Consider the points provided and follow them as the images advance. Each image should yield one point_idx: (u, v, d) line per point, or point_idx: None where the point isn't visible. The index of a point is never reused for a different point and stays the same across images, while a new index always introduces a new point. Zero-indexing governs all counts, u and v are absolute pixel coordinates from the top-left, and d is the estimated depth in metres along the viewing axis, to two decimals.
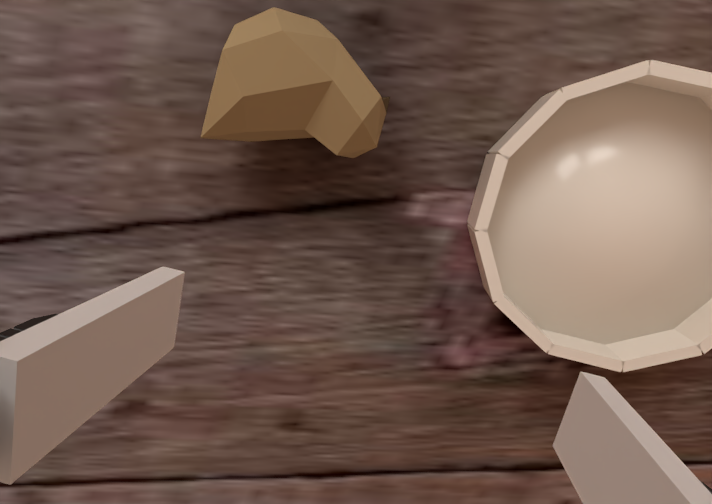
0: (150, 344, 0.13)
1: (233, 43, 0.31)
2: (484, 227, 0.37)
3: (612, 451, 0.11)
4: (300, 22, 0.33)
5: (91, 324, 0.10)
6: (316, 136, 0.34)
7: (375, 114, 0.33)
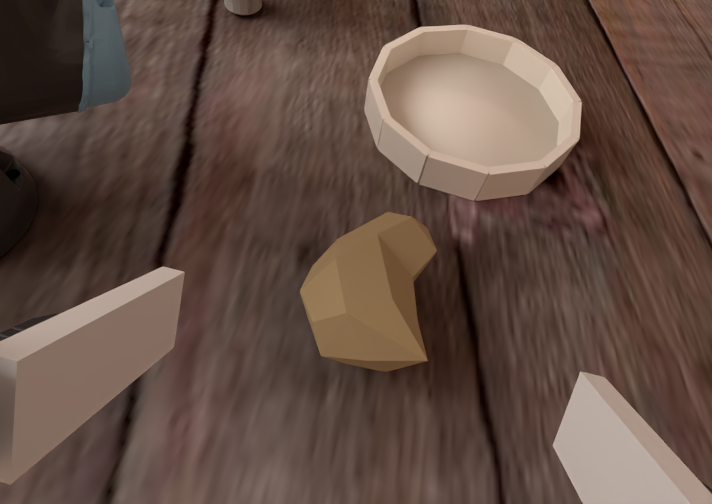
0: (150, 344, 0.13)
1: (340, 303, 0.31)
2: (485, 168, 0.45)
3: (612, 451, 0.11)
4: (319, 265, 0.35)
5: (91, 324, 0.10)
6: (419, 266, 0.36)
7: None
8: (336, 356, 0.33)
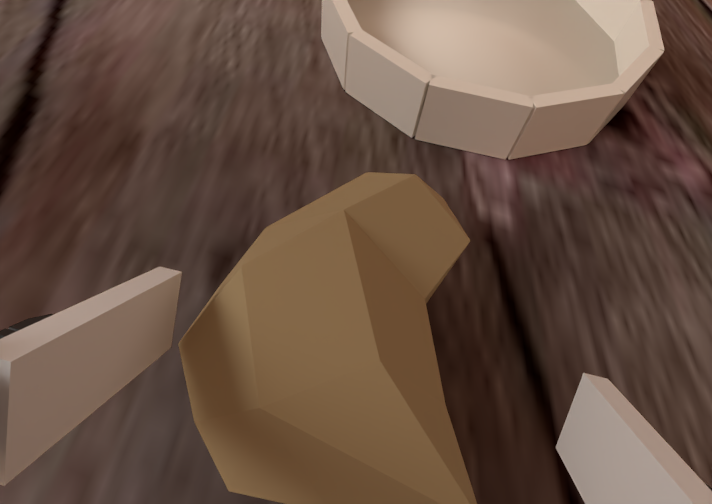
0: (147, 344, 0.13)
1: (248, 381, 0.12)
2: (527, 98, 0.27)
3: (616, 453, 0.11)
4: (222, 285, 0.16)
5: (86, 324, 0.10)
6: (437, 275, 0.17)
7: None
8: (259, 496, 0.14)
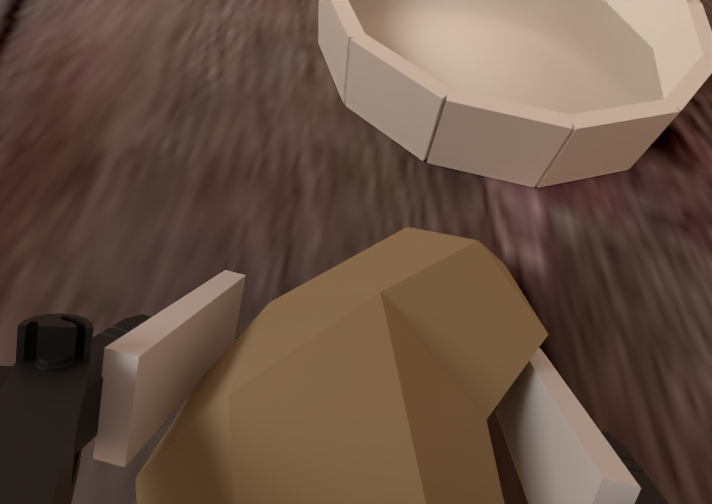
0: (219, 342, 0.14)
1: None
2: (564, 117, 0.22)
3: (534, 409, 0.13)
4: (204, 390, 0.12)
5: (184, 323, 0.11)
6: (504, 384, 0.13)
7: None
8: None
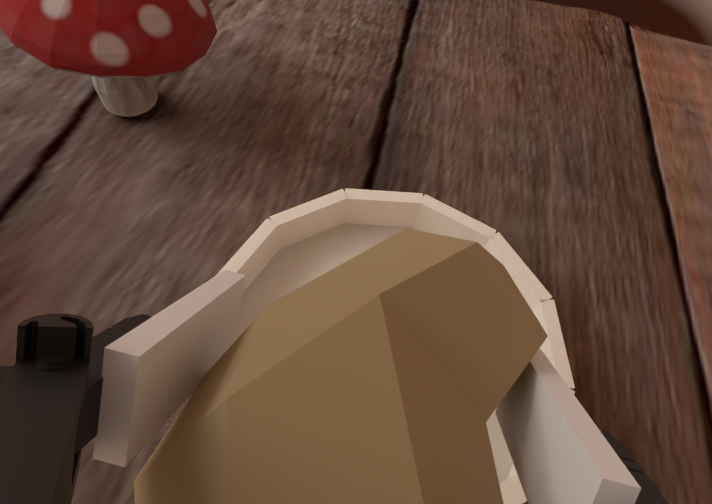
0: (219, 342, 0.14)
1: None
2: None
3: (535, 409, 0.13)
4: (203, 392, 0.12)
5: (184, 324, 0.11)
6: (503, 386, 0.12)
7: None
8: None
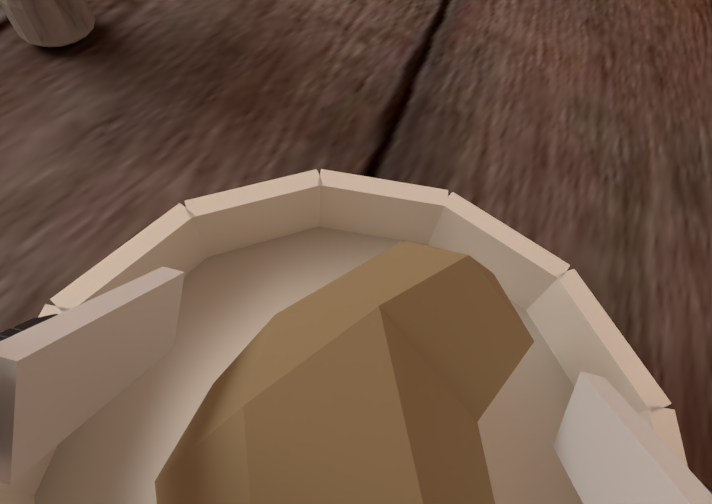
0: (150, 344, 0.13)
1: None
2: None
3: (612, 451, 0.11)
4: (217, 398, 0.13)
5: (91, 324, 0.10)
6: (493, 388, 0.14)
7: None
8: None
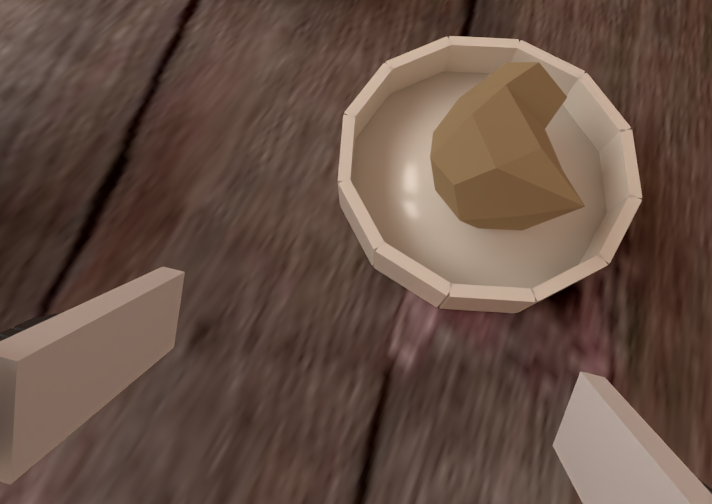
0: (150, 344, 0.13)
1: (487, 160, 0.30)
2: (447, 285, 0.33)
3: (612, 451, 0.11)
4: (446, 128, 0.34)
5: (91, 324, 0.10)
6: (550, 116, 0.34)
7: None
8: (478, 218, 0.33)
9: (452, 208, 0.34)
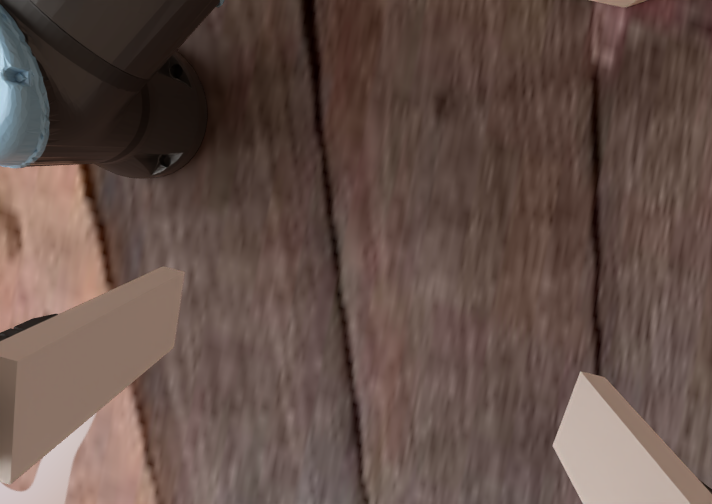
0: (150, 344, 0.13)
1: None
2: None
3: (612, 451, 0.11)
4: None
5: (91, 324, 0.10)
6: None
7: None
8: None
9: None
